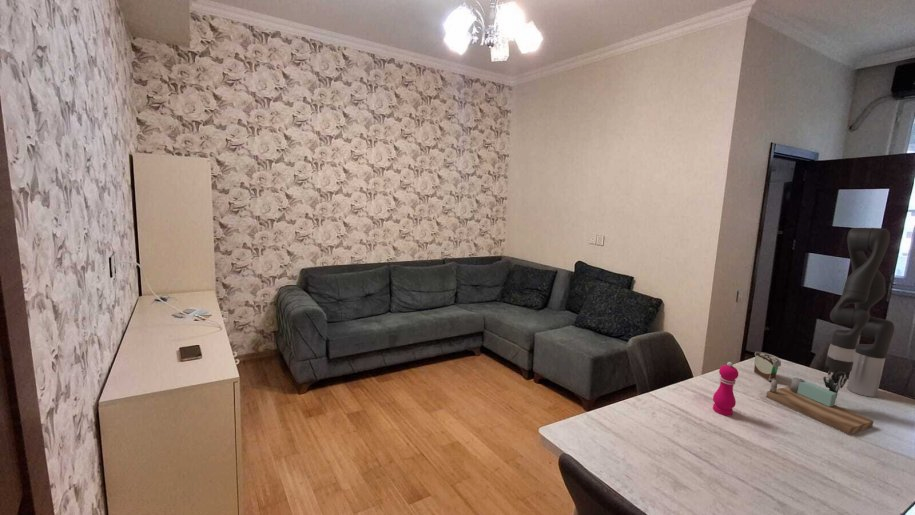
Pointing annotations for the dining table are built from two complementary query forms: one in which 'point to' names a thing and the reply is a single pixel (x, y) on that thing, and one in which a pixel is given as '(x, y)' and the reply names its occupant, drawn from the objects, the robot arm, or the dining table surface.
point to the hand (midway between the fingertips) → (831, 397)
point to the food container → (766, 365)
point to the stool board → (819, 410)
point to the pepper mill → (725, 390)
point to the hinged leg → (813, 392)
